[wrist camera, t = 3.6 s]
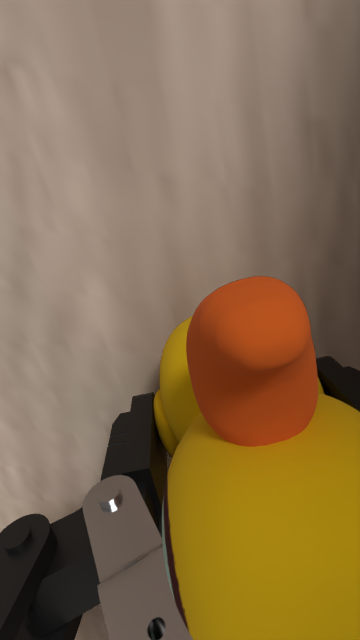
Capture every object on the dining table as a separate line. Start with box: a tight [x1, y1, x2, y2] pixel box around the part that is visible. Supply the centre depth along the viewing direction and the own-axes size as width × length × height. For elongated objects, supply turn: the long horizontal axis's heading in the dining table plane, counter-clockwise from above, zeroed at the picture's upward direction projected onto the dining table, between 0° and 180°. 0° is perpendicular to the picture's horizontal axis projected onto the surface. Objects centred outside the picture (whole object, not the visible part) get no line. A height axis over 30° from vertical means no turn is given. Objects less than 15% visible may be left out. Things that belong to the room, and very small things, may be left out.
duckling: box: [153, 276, 360, 640], centre depth 8 cm, size 11×5×10 cm, turn 16°
